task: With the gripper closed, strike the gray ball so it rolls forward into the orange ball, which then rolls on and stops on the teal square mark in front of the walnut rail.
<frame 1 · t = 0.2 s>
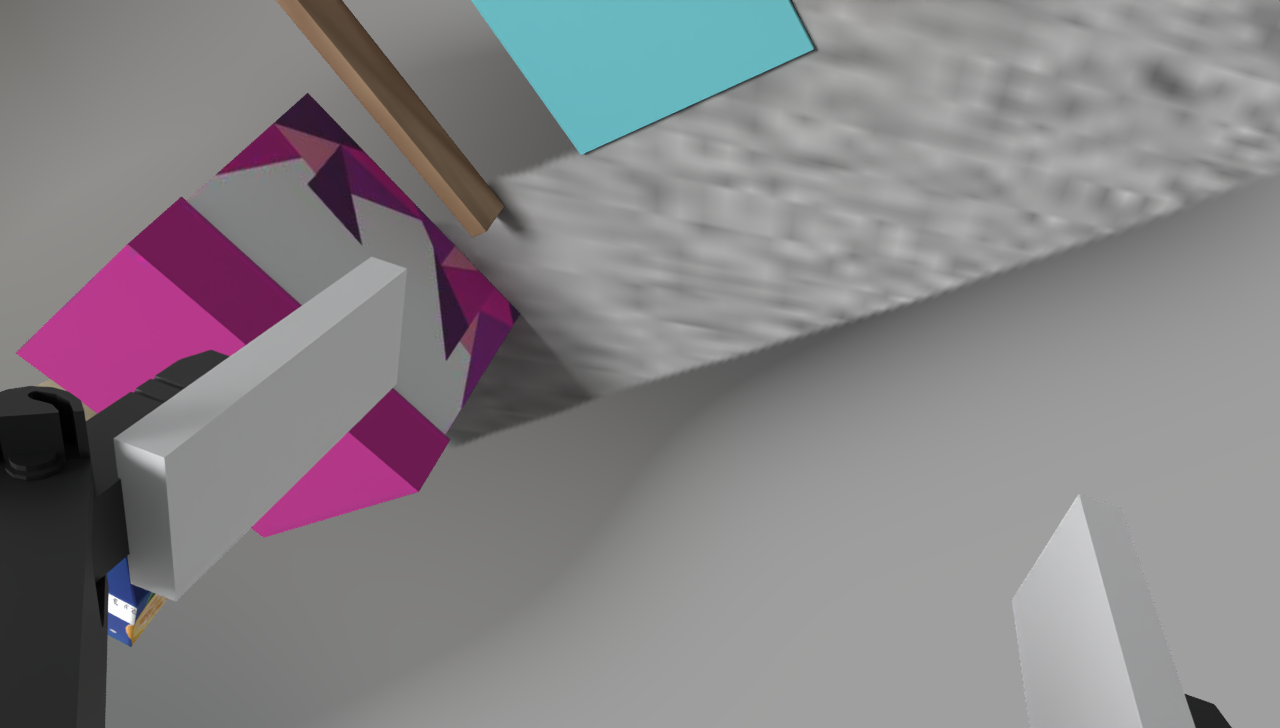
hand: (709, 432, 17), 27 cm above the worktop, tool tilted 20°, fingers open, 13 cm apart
beverage box: (274, 378, 76), on the worktop
decorative box: (347, 257, 61), on the worktop
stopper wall: (408, 97, 49), on the worktop
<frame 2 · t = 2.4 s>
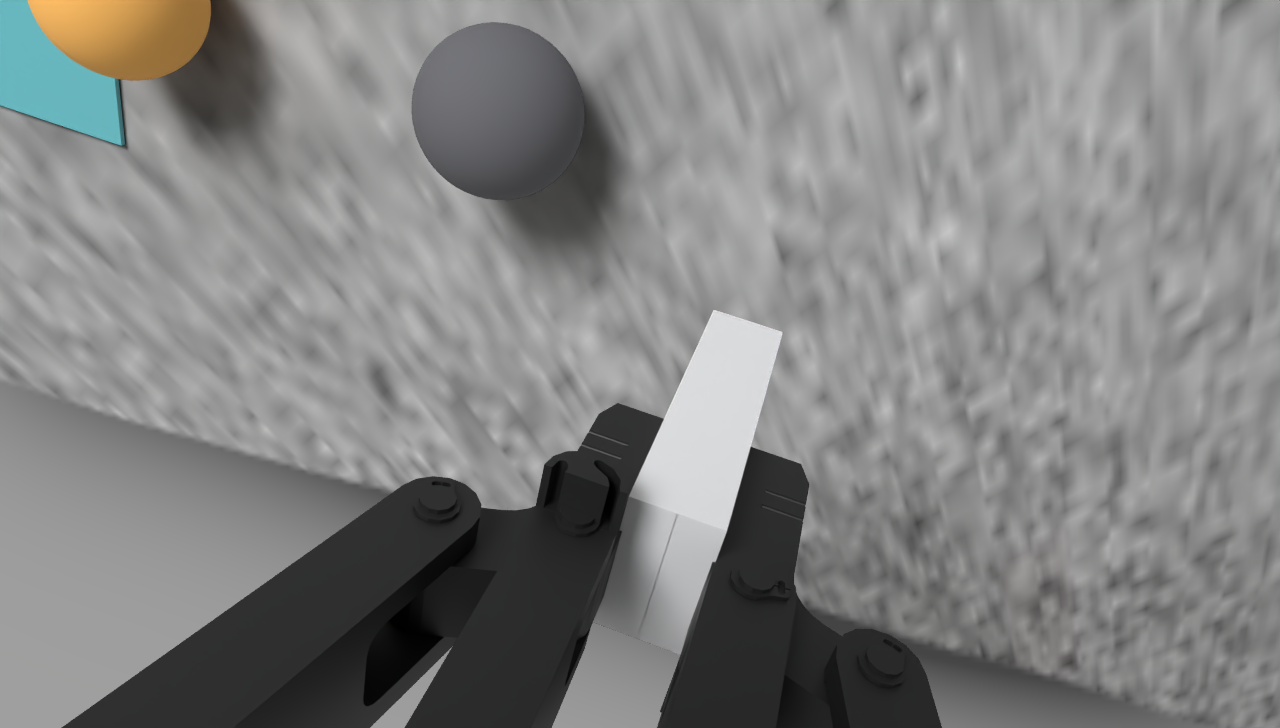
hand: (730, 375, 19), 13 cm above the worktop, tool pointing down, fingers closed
gray ball: (499, 113, 29), on the worktop
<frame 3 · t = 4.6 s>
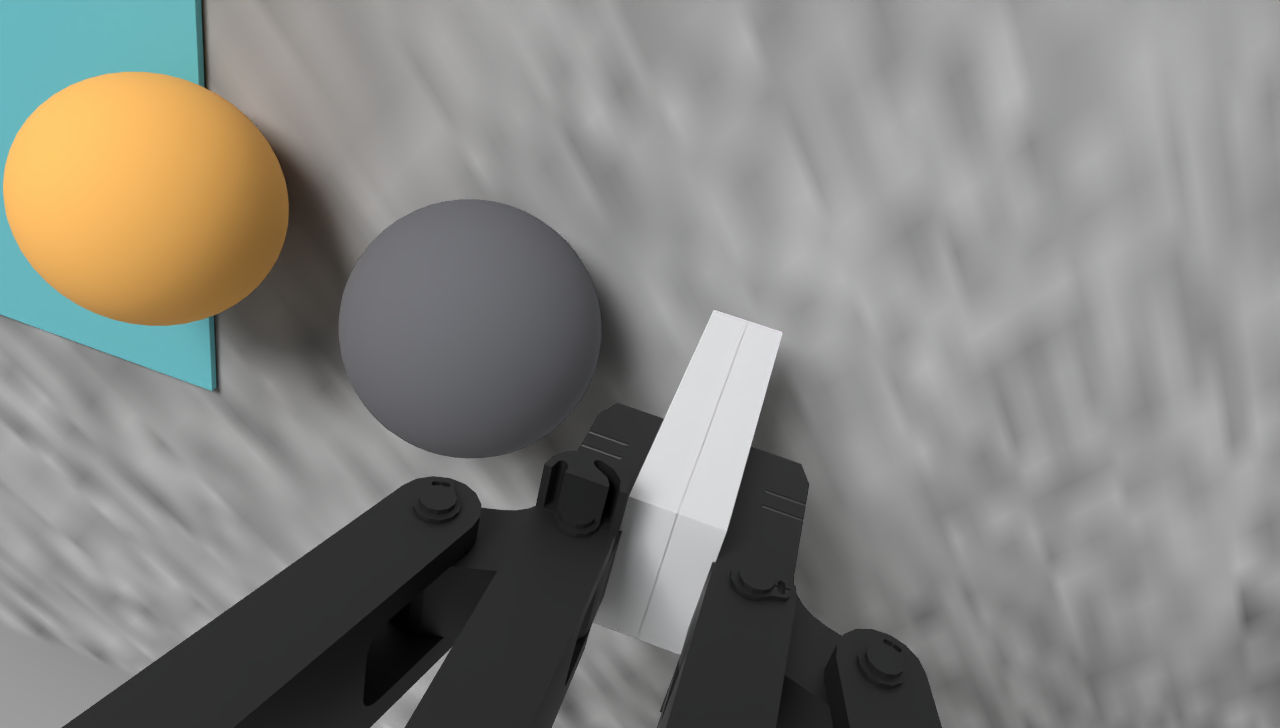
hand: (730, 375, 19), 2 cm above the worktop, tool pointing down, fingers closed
orange ball: (155, 201, 20), on the worktop
gray ball: (473, 329, 19), on the worktop
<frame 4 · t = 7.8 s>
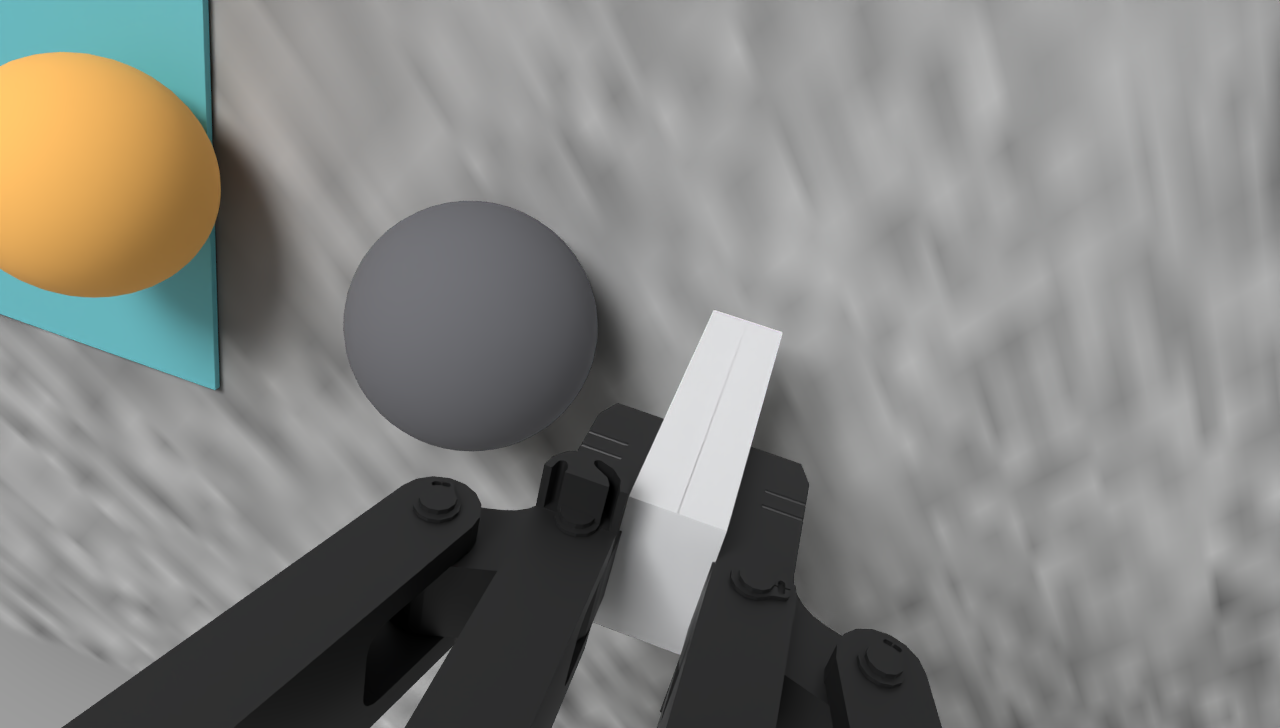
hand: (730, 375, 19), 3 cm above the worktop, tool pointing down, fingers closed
orange ball: (89, 178, 20), on the worktop
gray ball: (473, 326, 20), on the worktop
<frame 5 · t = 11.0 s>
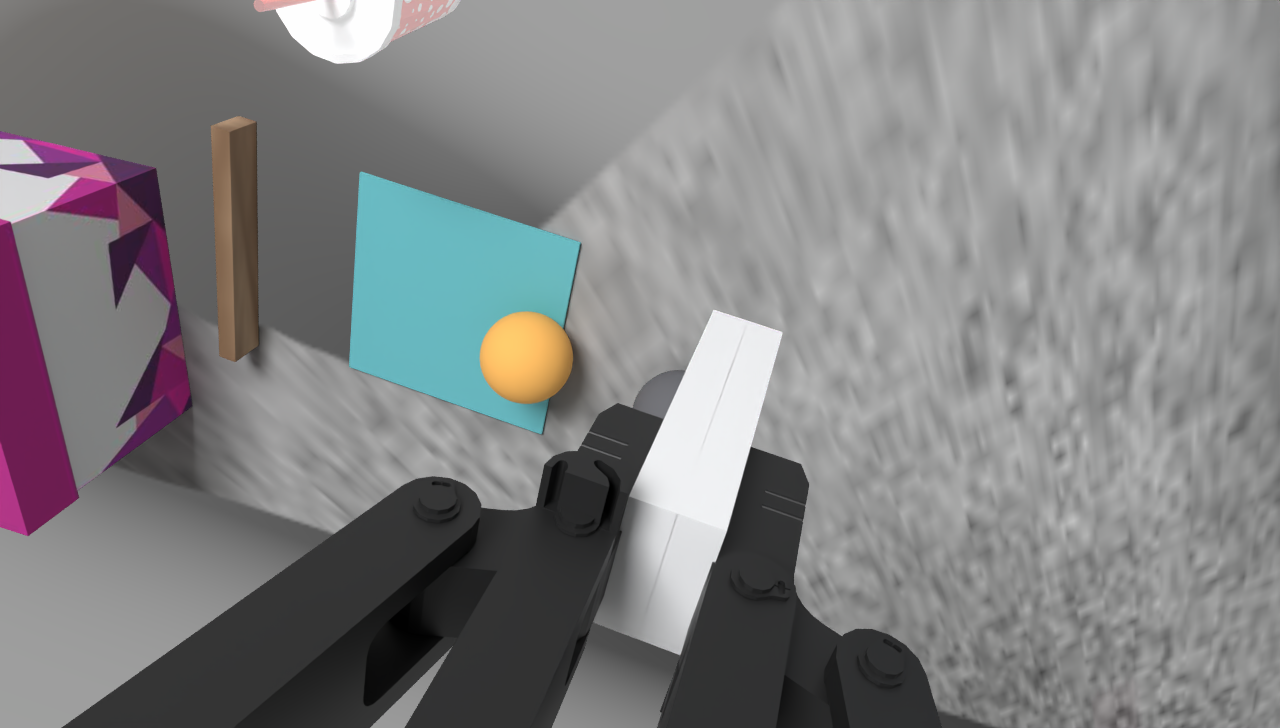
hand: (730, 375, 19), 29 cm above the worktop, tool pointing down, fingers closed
teal mark: (456, 308, 56), on the worktop
orange ball: (526, 357, 53), on the worktop
decorative box: (65, 264, 63), on the worktop
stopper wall: (249, 238, 57), on the worktop
gray ball: (678, 417, 52), on the worktop
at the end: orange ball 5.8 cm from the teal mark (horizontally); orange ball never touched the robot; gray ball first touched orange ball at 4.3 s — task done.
